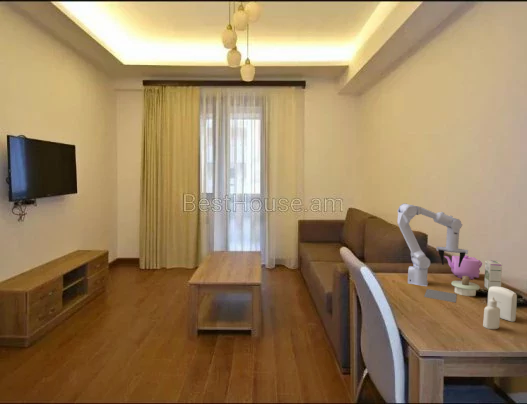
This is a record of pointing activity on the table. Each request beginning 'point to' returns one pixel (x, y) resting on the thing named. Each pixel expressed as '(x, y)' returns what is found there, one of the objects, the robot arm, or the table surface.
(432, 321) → the table surface
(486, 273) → the syrup box
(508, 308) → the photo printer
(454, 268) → the teapot
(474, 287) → the lid
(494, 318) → the eye dropper bottle
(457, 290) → the bowl
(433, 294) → the mat
